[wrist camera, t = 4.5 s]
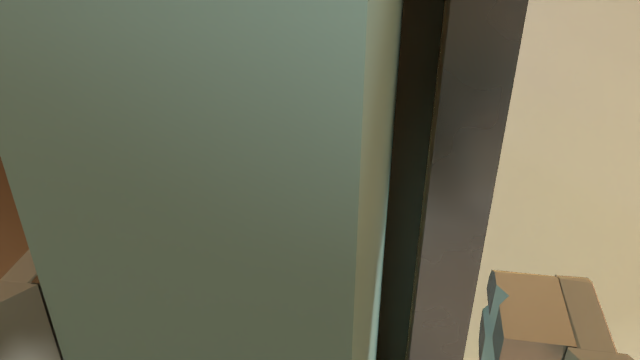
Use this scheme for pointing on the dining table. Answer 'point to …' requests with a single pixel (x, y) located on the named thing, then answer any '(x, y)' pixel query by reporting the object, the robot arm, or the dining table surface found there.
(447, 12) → the offcut rack
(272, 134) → the teal sheet
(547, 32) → the dining table surface
